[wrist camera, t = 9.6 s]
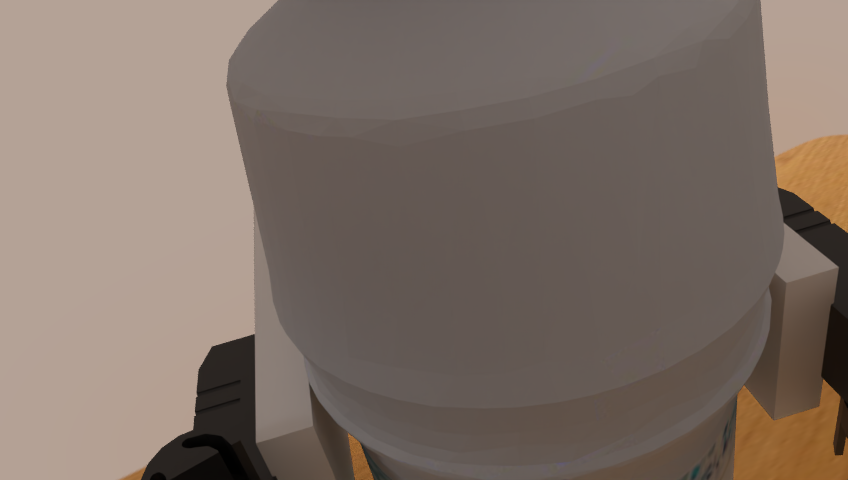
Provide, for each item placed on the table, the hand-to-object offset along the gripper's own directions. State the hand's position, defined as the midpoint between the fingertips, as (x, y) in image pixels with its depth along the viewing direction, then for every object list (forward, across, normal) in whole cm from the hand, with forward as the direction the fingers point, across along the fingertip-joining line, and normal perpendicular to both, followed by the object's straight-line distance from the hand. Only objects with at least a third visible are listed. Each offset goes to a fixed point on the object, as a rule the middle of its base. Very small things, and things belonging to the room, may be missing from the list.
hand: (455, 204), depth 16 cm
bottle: (-5, 0, -11) cm, 12 cm away
